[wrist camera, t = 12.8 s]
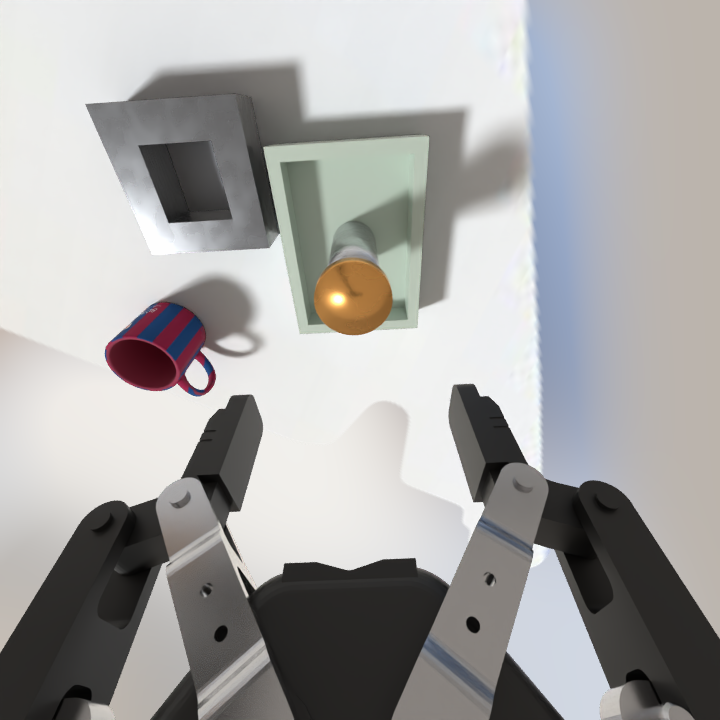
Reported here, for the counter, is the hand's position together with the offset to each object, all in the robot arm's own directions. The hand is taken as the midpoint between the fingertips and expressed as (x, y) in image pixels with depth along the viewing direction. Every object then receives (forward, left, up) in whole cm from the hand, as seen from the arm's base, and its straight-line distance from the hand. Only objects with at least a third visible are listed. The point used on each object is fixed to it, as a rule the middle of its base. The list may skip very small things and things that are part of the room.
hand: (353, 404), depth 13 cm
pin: (0, 0, -21) cm, 21 cm away
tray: (0, 0, -22) cm, 22 cm away
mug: (+10, -20, -22) cm, 32 cm away
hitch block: (-6, -12, -22) cm, 26 cm away
